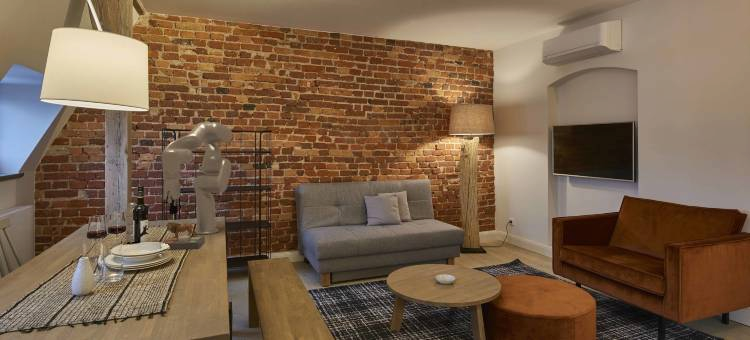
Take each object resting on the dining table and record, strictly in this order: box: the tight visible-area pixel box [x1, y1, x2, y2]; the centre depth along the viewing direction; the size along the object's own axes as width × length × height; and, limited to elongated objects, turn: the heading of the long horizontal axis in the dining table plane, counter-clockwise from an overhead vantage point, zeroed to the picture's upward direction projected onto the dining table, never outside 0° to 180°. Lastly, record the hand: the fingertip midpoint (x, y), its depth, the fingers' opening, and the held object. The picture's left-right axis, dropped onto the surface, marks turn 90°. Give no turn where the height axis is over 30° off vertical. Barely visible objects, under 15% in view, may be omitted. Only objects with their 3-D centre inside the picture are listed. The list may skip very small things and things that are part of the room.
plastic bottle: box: [124, 202, 137, 243], centre depth 208 cm, size 6×7×20 cm
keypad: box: [162, 236, 206, 251], centre depth 202 cm, size 12×16×3 cm
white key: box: [178, 235, 191, 241], centre depth 203 cm, size 4×4×2 cm
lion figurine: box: [166, 221, 198, 238], centre depth 220 cm, size 15×5×9 cm, turn 122°
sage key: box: [190, 236, 202, 241], centre depth 204 cm, size 4×4×2 cm
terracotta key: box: [166, 237, 179, 241], centre depth 202 cm, size 4×4×2 cm
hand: (173, 213), depth 202 cm, fingers closed
